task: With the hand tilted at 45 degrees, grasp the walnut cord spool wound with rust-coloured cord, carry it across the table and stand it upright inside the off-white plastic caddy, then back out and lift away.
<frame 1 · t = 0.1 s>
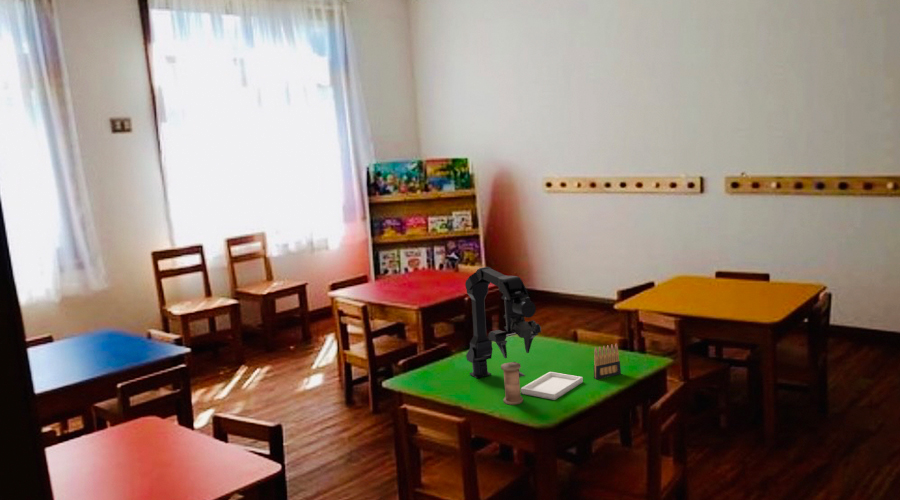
hand: (516, 355, 254), 15 cm above the table, tool pointing down, fingers open, 9 cm apart
caddy: (552, 387, 261), on the table
cord spool: (513, 401, 251), on the table
ammunition clip: (607, 376, 268), on the table
black holed block: (514, 375, 280), on the table
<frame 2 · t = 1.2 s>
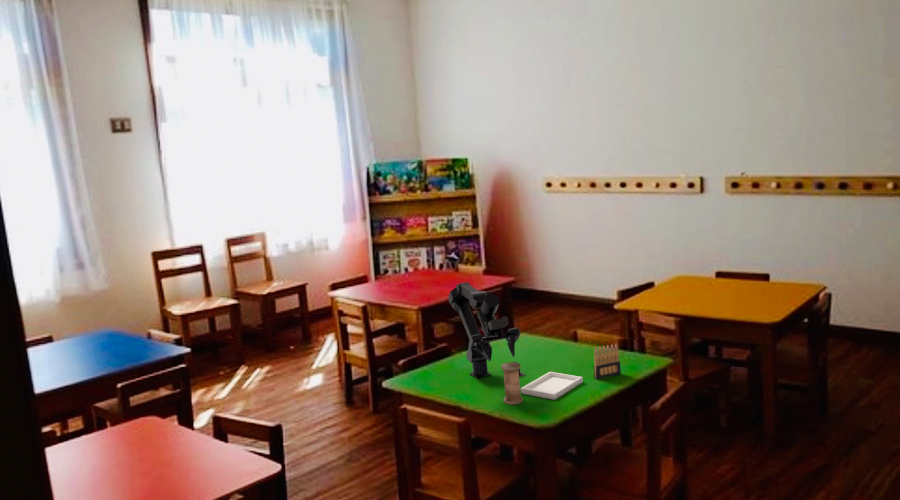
hand: (502, 358, 256), 13 cm above the table, tool tilted 45°, fingers open, 9 cm apart
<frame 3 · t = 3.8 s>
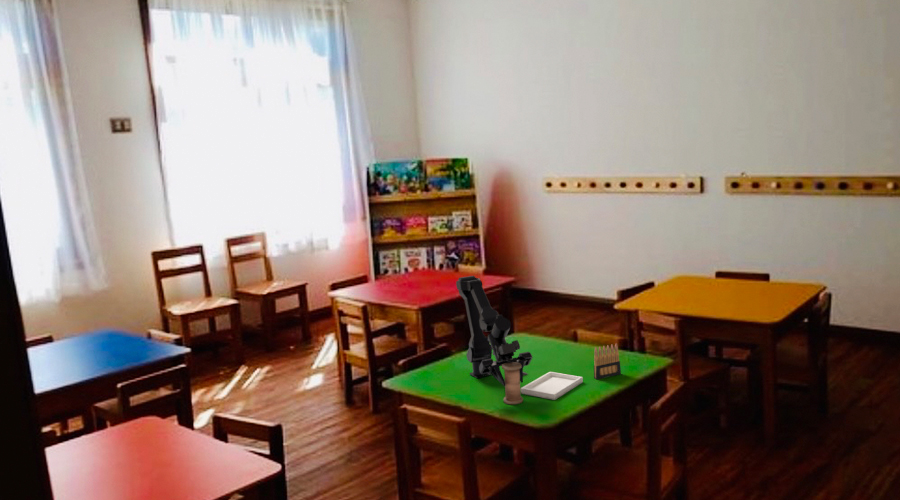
hand: (513, 383, 249), 7 cm above the table, tool tilted 45°, fingers closed on cord spool, 6 cm apart
cord spool: (513, 400, 251), on the table, touching gripper
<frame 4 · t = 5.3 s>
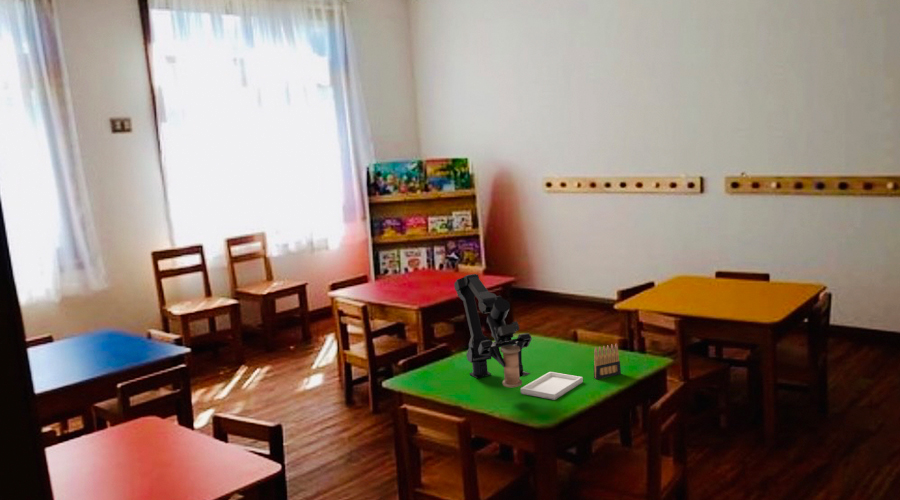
hand: (512, 365, 248), 13 cm above the table, tool tilted 45°, fingers closed on cord spool, 6 cm apart
cord spool: (512, 383, 250), point 6 cm above the table, touching gripper
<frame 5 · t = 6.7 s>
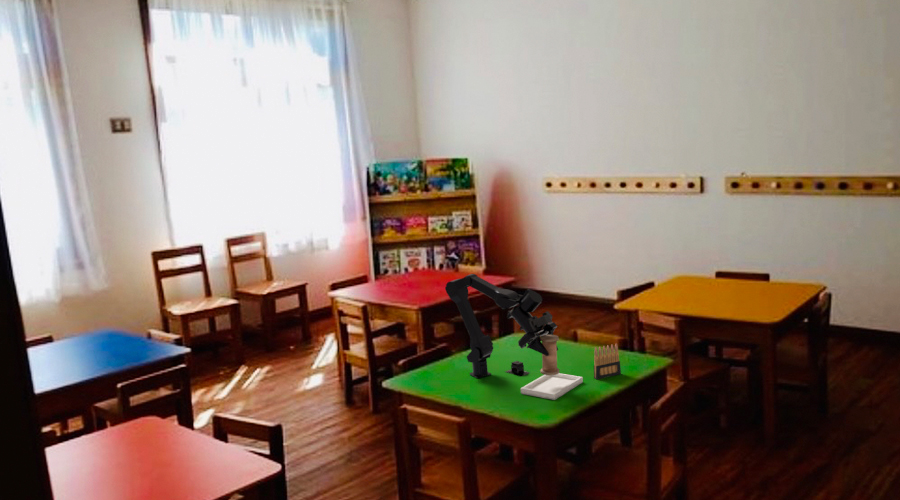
hand: (552, 352, 258), 13 cm above the table, tool tilted 45°, fingers closed on cord spool, 6 cm apart
cord spool: (549, 372, 260), point 6 cm above the table, touching gripper
when the fingers open (8 cm above the table, at t = 8.4 s): cord spool stays where it is, resting on caddy.
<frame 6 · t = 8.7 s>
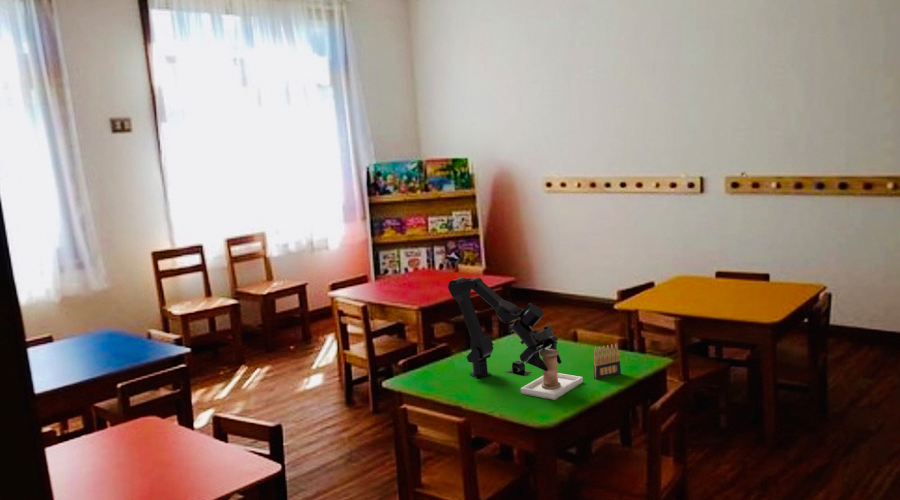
hand: (554, 366, 259), 8 cm above the table, tool tilted 45°, fingers open, 9 cm apart
cord spool: (551, 386, 261), point 1 cm above the table, touching caddy
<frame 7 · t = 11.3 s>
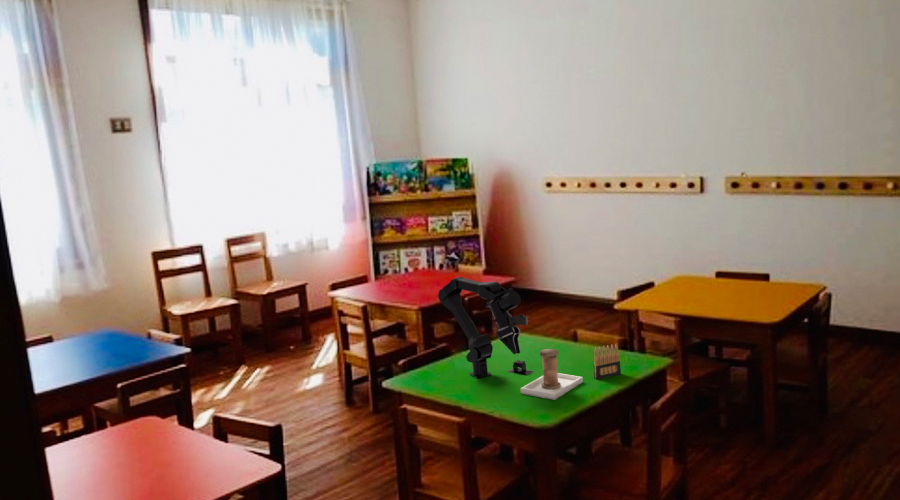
hand: (517, 353, 264), 12 cm above the table, tool tilted 25°, fingers open, 9 cm apart
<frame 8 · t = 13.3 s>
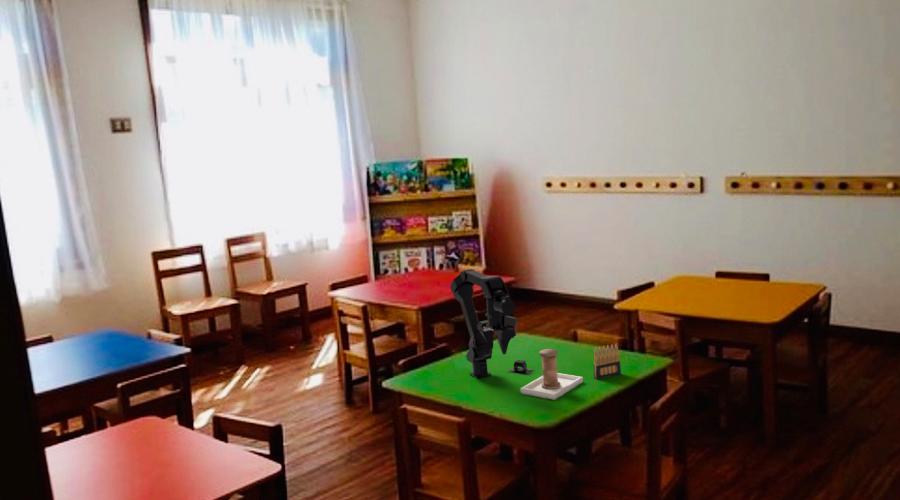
hand: (497, 351, 266), 13 cm above the table, tool pointing down, fingers open, 9 cm apart
at the end: cord spool inside the target area on the caddy (0.4 cm from its centre), point 0.6 cm above the caddy's base; cord spool tilted 1°; the gripper is holding nothing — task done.
